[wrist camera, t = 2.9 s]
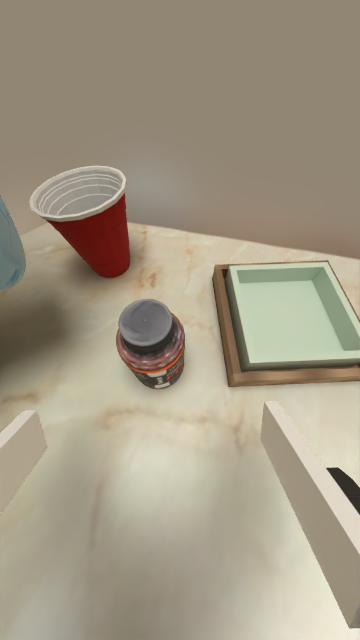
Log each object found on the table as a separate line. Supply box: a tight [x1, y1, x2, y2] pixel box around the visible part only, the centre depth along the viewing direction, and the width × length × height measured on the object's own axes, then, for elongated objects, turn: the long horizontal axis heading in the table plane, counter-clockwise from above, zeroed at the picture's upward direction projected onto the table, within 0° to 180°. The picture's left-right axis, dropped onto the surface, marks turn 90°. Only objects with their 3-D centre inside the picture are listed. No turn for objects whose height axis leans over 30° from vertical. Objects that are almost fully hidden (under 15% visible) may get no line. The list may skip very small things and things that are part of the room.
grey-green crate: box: [225, 262, 360, 372], centre depth 25 cm, size 13×13×4 cm
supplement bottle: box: [116, 299, 185, 389], centre depth 20 cm, size 6×6×11 cm
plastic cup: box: [30, 166, 130, 277], centre depth 27 cm, size 11×11×12 cm
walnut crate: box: [212, 260, 360, 387], centre depth 26 cm, size 16×16×3 cm
